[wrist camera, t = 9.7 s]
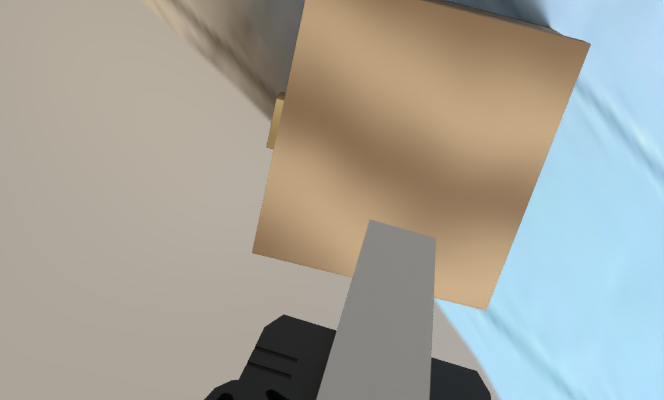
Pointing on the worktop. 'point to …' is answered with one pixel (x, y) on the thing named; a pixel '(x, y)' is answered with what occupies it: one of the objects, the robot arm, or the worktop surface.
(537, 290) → the worktop surface
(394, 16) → the lid
